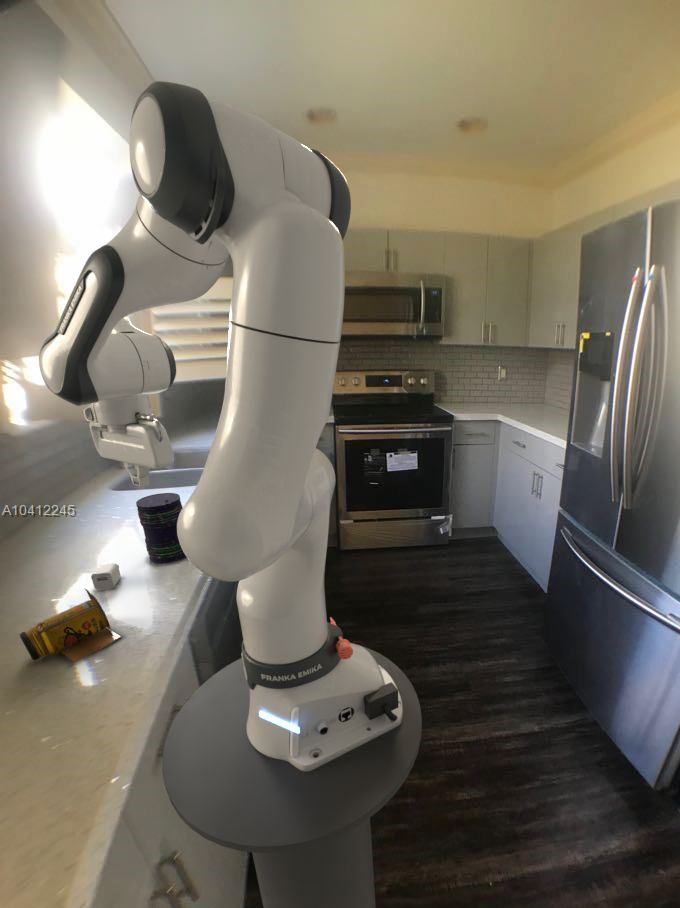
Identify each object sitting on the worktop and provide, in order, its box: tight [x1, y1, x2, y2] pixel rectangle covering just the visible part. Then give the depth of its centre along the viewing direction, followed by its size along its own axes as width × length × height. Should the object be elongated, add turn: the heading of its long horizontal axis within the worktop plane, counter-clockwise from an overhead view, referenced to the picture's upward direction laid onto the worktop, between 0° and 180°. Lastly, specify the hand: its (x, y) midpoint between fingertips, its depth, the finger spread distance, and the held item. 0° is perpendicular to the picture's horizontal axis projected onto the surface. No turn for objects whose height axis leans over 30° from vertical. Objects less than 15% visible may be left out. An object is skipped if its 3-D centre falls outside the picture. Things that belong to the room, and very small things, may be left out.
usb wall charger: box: [90, 562, 122, 591], centre depth 103 cm, size 4×7×4 cm, turn 11°
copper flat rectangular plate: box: [58, 627, 122, 663], centre depth 83 cm, size 8×10×1 cm
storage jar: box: [135, 492, 187, 565], centre depth 112 cm, size 10×10×15 cm
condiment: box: [19, 588, 113, 661], centre depth 82 cm, size 7×8×12 cm
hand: (141, 484), depth 87 cm, fingers closed
